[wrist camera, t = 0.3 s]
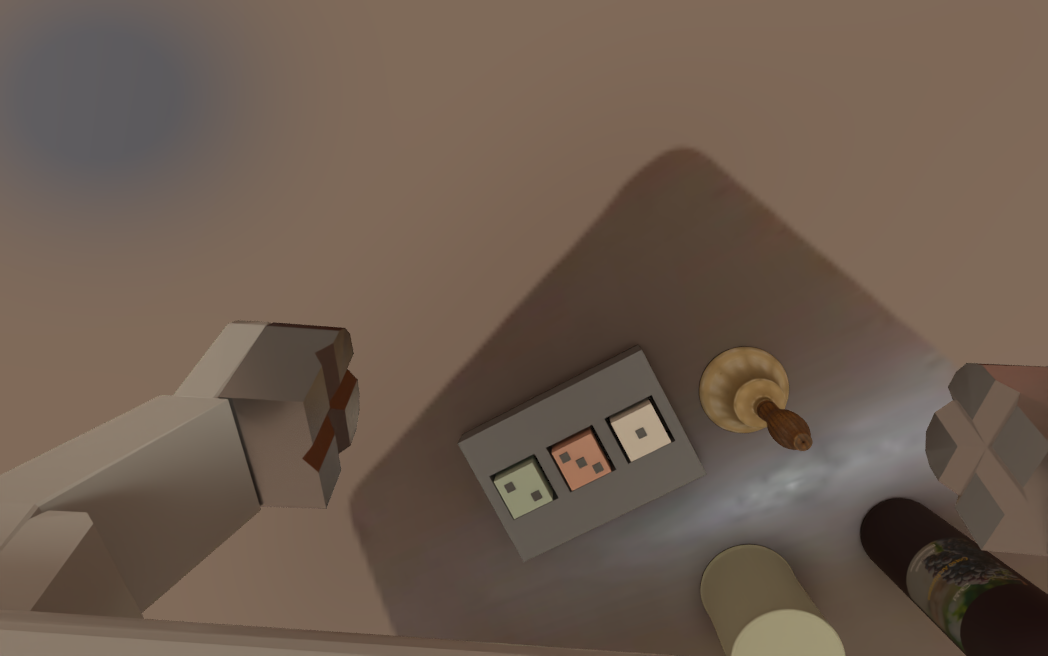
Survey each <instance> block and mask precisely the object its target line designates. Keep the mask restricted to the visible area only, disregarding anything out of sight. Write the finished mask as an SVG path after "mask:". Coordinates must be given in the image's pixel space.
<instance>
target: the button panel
mask: <svg viewBox="0 0 1048 656" xmlns="http://www.w3.org/2000/svg"><path fill="white" fill-rule="evenodd" d="M649 396H652V398H653V400H654V402H655V404H656V406H657V408H658V409H659V411H660V413H661V415H662V417H663V419H664V421H665V423H666V425H667V427H668V429H669V430H670V432H668V433H667V435H668V437H669V439H670V441H671V443H669V444H667V445H665V446H663V447H661V448H659V449H657V450H655V451H653V452H651V453H649V454H646V455H644V456H642V457H640V458H638V459H636V460H634V461H632V462H631V461H630V459H629V457H628V455H627V453H626V454H625V453H624V451H623V449H622V447H621V445H620V443H619V441H618V440H617V438H616V436H615V434H614V432H613V430H612V428H611V426H610V425H609V423H608V421H607V419H606V418H607V417H609V416H611V415H613V414H615V413H617V412H619V411H621V410H623V409H625V408H627V407H629V406H631V405H633V404H635V403H637V402H639V401H641V400H643V399H645V398H647V397H649ZM591 425H593V427H594V429H595V430H596V432H597V434H598V436H599V438H600V440H601V442H602V444H603V445H604V447H605V449H606V451H607V453H608V455H609V457H610V459H611V461H609V463H610V467H611V472H610V473H608V474H606V475H604V476H602V477H600V478H598V479H595V480H593V481H591V482H589V483H587V484H585V485H583V486H581V487H579V488H577V489H575V490H573V491H572V490H571V488H570V486H569V484H568V482H567V480H566V479H565V477H564V475H563V473H562V471H561V469H560V468H559V466H558V464H557V462H556V460H555V458H554V456H553V455H552V447H551V445H553V444H555V443H557V442H559V441H561V440H563V439H565V438H567V437H569V436H571V435H573V434H575V433H577V432H579V431H581V430H583V429H585V428H587V427H589V426H591ZM458 445H459V447H460V449H461V450H462V452H463V454H464V456H465V458H466V459H467V461H468V463H469V465H470V467H471V468H472V470H473V472H474V474H475V476H476V477H477V479H478V481H479V483H480V485H481V486H482V488H483V490H484V492H485V494H486V495H487V497H488V499H489V501H490V503H491V504H492V506H493V508H494V510H495V512H496V513H497V515H498V517H499V519H500V521H501V522H502V524H503V526H504V528H505V530H506V531H507V533H508V535H509V537H510V539H511V540H512V542H513V544H514V546H515V548H516V549H517V551H518V553H519V555H520V557H521V558H522V560H523V562H525V561H528V560H530V559H532V558H534V557H536V556H538V555H540V554H542V553H544V552H546V551H548V550H550V549H552V548H555V547H557V546H559V545H561V544H563V543H565V542H567V541H569V540H571V539H573V538H575V537H577V536H579V535H582V534H584V533H586V532H588V531H590V530H592V529H594V528H596V527H598V526H600V525H602V524H604V523H606V522H609V521H611V520H613V519H615V518H617V517H619V516H621V515H623V514H625V513H627V512H629V511H631V510H634V509H636V508H638V507H640V506H642V505H644V504H646V503H648V502H650V501H652V500H654V499H656V498H658V497H661V496H663V495H665V494H667V493H669V492H671V491H673V490H675V489H677V488H679V487H681V486H683V485H685V484H688V483H690V482H692V481H694V480H696V479H698V478H700V477H702V476H704V475H706V472H705V470H704V468H703V466H702V464H701V462H700V460H699V459H698V457H697V455H696V453H695V451H694V449H693V447H692V445H691V443H690V441H689V439H688V437H687V436H686V434H685V432H684V430H683V428H682V426H681V424H680V422H679V420H678V418H677V416H676V414H675V413H674V411H673V409H672V407H671V405H670V403H669V401H668V399H667V397H666V395H665V393H664V391H663V390H662V388H661V386H660V384H659V382H658V380H657V378H656V376H655V374H654V372H653V370H652V368H651V367H650V365H649V363H648V361H647V359H646V357H645V355H644V353H643V351H642V349H641V348H640V347H639V346H638V345H636V346H634V347H633V348H631V349H629V350H627V351H625V352H623V353H621V354H619V355H617V356H615V357H613V358H611V359H609V360H607V361H605V362H603V363H601V364H599V365H597V366H595V367H593V368H591V369H589V370H588V371H586V372H584V373H582V374H580V375H578V376H576V377H574V378H572V379H570V380H568V381H566V382H564V383H562V384H560V385H558V386H556V387H554V388H552V389H550V390H548V391H546V392H545V393H543V394H541V395H539V396H537V397H535V398H533V399H531V400H529V401H527V402H525V403H523V404H521V405H519V406H517V407H515V408H513V409H511V410H509V411H507V412H505V413H503V414H501V415H500V416H498V417H496V418H494V419H492V420H490V421H488V422H486V423H484V424H482V425H480V426H478V427H476V428H474V429H472V430H470V431H468V432H466V433H464V434H463V435H462V436H461V438H460V440H459V442H458ZM533 454H535V455H536V457H537V459H538V461H539V463H540V465H541V466H542V468H543V470H544V472H545V474H546V476H547V477H548V479H549V481H550V483H551V485H552V487H553V488H554V489H552V490H553V501H551V502H549V503H547V504H544V505H542V506H540V507H538V508H536V509H534V510H532V511H530V512H528V513H526V514H524V515H522V516H520V517H518V518H516V519H514V518H513V516H512V514H511V512H510V510H509V509H508V507H507V505H506V503H505V501H504V500H503V498H502V496H501V494H500V492H499V491H498V489H497V487H496V485H495V483H494V479H495V476H496V473H497V472H499V471H501V470H503V469H505V468H507V467H509V466H511V465H513V464H515V463H517V462H519V461H521V460H523V459H525V458H527V457H529V456H531V455H533Z"/></svg>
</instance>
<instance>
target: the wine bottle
mask: <svg viewBox="0 0 1048 656" xmlns="http://www.w3.org/2000/svg"><path fill="white" fill-rule="evenodd" d="M861 540H862V544H863V546H864V549H865V551H866V553H867V554H868V556H869V557H870V559H871V560H872V561H873V562H874V563H875V564H876V565H877V566H878V567H879V568H880V569H881V570H882V571H883V572H884V573H885V574H886V575H887V576H888V577H889V578H890V579H891V580H892V581H893V582H894V583H895V584H896V585H897V586H898V587H899V588H900V589H901V590H902V591H903V592H904V593H905V594H906V595H907V596H908V597H909V598H910V599H911V600H912V601H913V602H914V603H915V604H916V605H917V606H918V607H919V608H920V609H921V610H922V611H923V612H924V613H925V614H926V615H927V616H928V617H929V618H930V619H931V620H932V621H933V622H934V623H935V624H936V625H937V626H938V627H939V628H940V629H941V630H942V631H943V632H944V633H945V634H946V635H947V636H948V638H949V639H950V640H951V641H952V642H953V643H954V644H955V645H956V646H957V647H958V648H959V649H960V650H961V651H962V652H963V653H964V654H965V655H966V656H1048V594H1046V593H1045V592H1044V591H1042V590H1041V589H1039V588H1038V587H1037V586H1035V585H1034V584H1032V583H1031V582H1030V581H1028V580H1027V579H1025V578H1024V577H1023V576H1021V575H1020V574H1018V573H1017V572H1016V571H1014V570H1013V569H1011V568H1010V567H1009V566H1007V565H1006V564H1004V563H1003V562H1002V561H1000V560H999V559H998V558H996V557H995V556H993V555H992V554H991V553H989V552H988V551H985V550H981V549H980V547H979V546H978V544H977V543H975V542H974V541H972V540H971V539H970V538H968V537H967V536H965V535H964V534H963V533H961V532H960V531H958V530H957V529H956V528H954V527H953V526H951V525H950V524H949V523H947V522H946V521H945V520H943V519H942V518H940V517H939V516H938V515H936V514H935V513H933V512H932V511H931V510H929V509H928V508H926V507H925V506H923V505H921V504H920V503H917V502H914V501H912V500H907V499H891V500H887V501H884V502H882V503H880V504H878V505H877V506H875V507H874V508H873V509H872V510H871V511H870V512H869V513H868V514H867V516H866V517H865V519H864V521H863V524H862V528H861Z"/></svg>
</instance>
